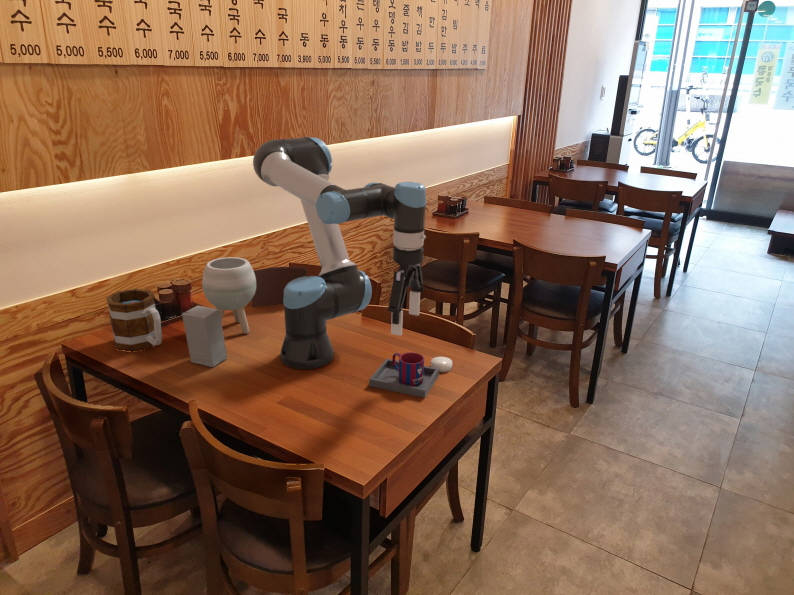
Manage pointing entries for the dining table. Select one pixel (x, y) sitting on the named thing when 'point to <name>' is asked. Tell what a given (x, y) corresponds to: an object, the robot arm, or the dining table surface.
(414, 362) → the cup
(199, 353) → the skincare box
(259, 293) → the letter holder
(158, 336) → the mug
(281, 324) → the dining table surface
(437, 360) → the white rounded flat piece
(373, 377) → the tray
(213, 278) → the planter
